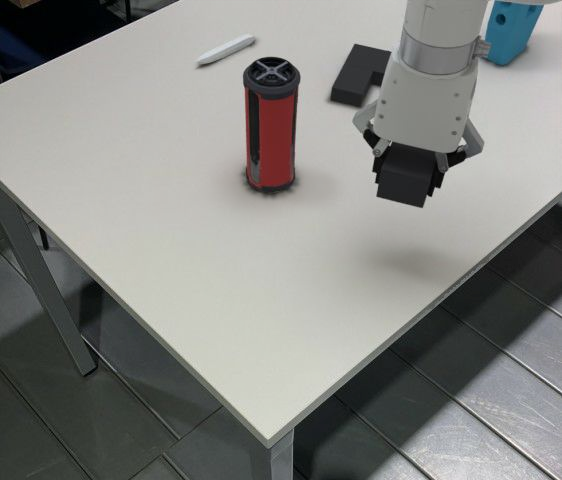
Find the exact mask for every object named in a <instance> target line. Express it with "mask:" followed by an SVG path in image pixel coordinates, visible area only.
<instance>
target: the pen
mask: <svg viewBox="0 0 562 480" xmlns="http://www.w3.org/2000/svg"><path fill="white" fill-rule="evenodd" d="M255 39H256V36H255V35H254V34H251V33H245V34H242V35H240V36H238V37H236V38H234V39H231V40H229V41H227V42H225V43H223V44H221V45H218V46H216V47H215V48H213V49H210V50H209V51H207V52H205V53H202V54H201V55H200V56H198V57H197V59H196V61H195V63H197V64H203V65H204V64H205V65H206V64H210V63H213V62H215V61H219V60H221V59H224V58H227V57H228V56H230V55H232V54H234V53H236V52H239V51H240V50H242V49H244V48H246V47H249V46H250V45H252V44H253V43H254V42H255Z"/></svg>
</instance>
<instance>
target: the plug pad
mask: <svg viewBox="0 0 562 480" xmlns="http://www.w3.org/2000/svg"><path fill="white" fill-rule="evenodd" d="M389 146H390V149H389V151H388V154H387V156H386V159H385V160H384V163H383V165H382V168H381V172H380V178H379V184H377V188H376V189H377V190H376V195H375V196H376V198H378V199H383V200H387V201H391V202H395V203H398V204H399V203H400V204H403V205H408V206H411V207H415V208H418V209H419V208H420V209H423V208H424V206H425V203H426V200H427V197H428V195H427V193H428V189H429V185H430V182H431V178H432V174H433V170H434V167H435V164H436V161H437V159H436V154H435V151H431V150H427V149H422V148H418V147H414V146H409V145H405V144H401V143H397V142H393V141H391V143H390V144H389Z"/></svg>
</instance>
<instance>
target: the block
mask: <svg viewBox="0 0 562 480" xmlns="http://www.w3.org/2000/svg"><path fill="white" fill-rule="evenodd" d="M493 1H494V2H493V5H492V7H491V12H490V13H489V14H490V15H489V17H488V20H487V26H486V30H485V36H484V40H485V41H484V42H489V43H491V47H490V50H489V53H488V57H483V58H484V59H486V60H488V61H489V62H492V63H494V64H496V65H498V66H506V65H508V63H510V62H511V61H512V60H513V59H515V58H516V57H517V56H518V55H520V54H521V53H522V52H523V51H524V50H525V49H526V46H527V45H528V42H529V40H530V38H531V36H532V34H533V31H534V29H535V27H536V25H537V23H538V20H539V19H540V16H541V14H542V12H543V9H544V6H545V5H527V4H519V3H512V2H505V1H497V0H493Z"/></svg>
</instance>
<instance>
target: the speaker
mask: <svg viewBox="0 0 562 480" xmlns="http://www.w3.org/2000/svg"><path fill="white" fill-rule="evenodd" d="M242 73H243V74H242V84H243V88H244V111H245V113H244V114H245V145H246V147H245V149H246V151H245V152H246V167H245V179H246V181H247V183H248V184H249V185H250V186H251V187H252V188H254V189H256V190H257V191H260V192H264V193H279V192H282V191H284V190H286V189H289V188H290V187H291V186H292V185H293V184H294V182H295V180H296V166H295V163H296V161H295V160H296V139H297V138H296V137H297V117H298V103H299V86H300V84H301V81H302V80H301V79H302V77H301V72H300V70H299V69H298V68H297V67H296V66H295V65H294V64H293V63H291V61H289V60H288V59H286V58H282V57H279V56H264V57H260V58H258V59H256V60H254V61H253V62H252V63H250V64H249V65H248V66H247V67H245V69H244V70H243V72H242Z"/></svg>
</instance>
